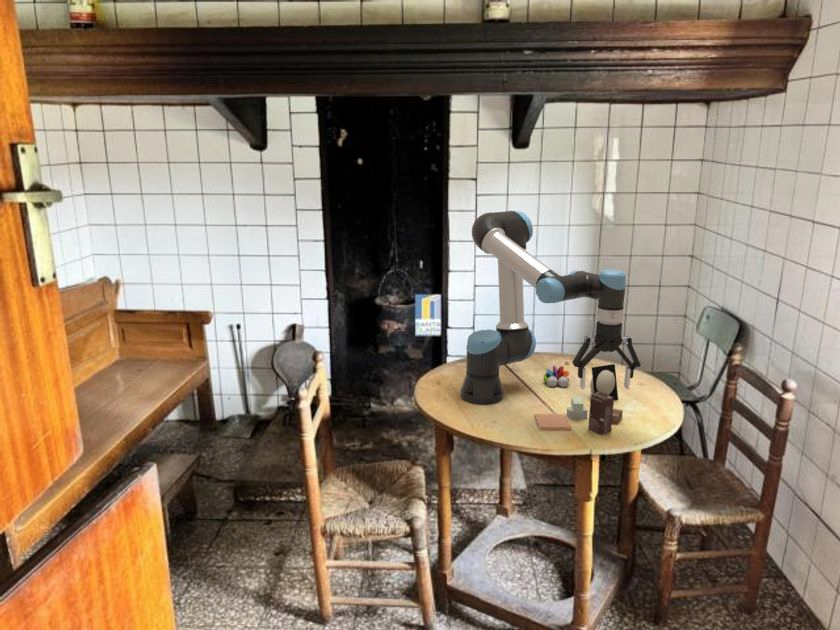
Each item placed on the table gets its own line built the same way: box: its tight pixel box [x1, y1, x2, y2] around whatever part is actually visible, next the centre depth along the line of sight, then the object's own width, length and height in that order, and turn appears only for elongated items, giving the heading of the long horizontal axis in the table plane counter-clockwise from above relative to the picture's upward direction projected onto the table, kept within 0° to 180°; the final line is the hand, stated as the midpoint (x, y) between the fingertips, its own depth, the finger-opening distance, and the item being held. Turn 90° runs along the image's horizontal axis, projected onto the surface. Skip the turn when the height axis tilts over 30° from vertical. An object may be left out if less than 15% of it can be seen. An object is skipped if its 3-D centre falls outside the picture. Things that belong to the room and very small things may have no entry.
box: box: [588, 391, 615, 436], centre depth 200 cm, size 6×4×12 cm
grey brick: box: [566, 406, 589, 420], centre depth 211 cm, size 6×3×3 cm, turn 93°
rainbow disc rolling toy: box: [543, 365, 570, 388], centre depth 239 cm, size 8×10×7 cm
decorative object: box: [589, 363, 619, 401], centre depth 226 cm, size 13×10×10 cm
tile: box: [534, 413, 572, 431], centre depth 206 cm, size 10×10×1 cm
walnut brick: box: [612, 407, 624, 425], centre depth 209 cm, size 6×3×3 cm, turn 147°
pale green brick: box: [570, 396, 585, 413], centre depth 210 cm, size 6×3×3 cm, turn 175°
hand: (604, 387), depth 197 cm, fingers open, 13 cm apart
